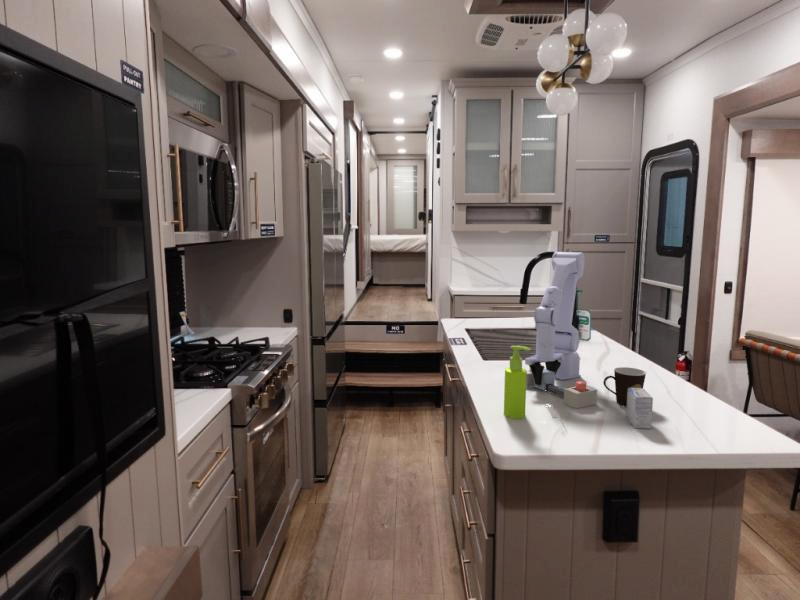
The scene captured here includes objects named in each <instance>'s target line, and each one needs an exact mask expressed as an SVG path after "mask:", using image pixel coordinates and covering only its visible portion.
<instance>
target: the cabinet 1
mask: <svg viewBox="0 0 800 600" xmlns="http://www.w3.org/2000/svg"><path fill="white" fill-rule="evenodd" d="M526 371H527V373H526V388H530V387H529V386H531V387H534V386H533V383H534V376H533V373H532V371H531V369H530V368H529V370H526Z"/></svg>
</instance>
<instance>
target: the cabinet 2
mask: <svg viewBox="0 0 800 600" xmlns="http://www.w3.org/2000/svg"><path fill="white" fill-rule="evenodd" d="M575 388H576V386H573V387H567V388H563V389H564V398H563V404H565V405H568V406H569V405H570V406H569V407H572V408H573V409H574V408H575V409H581V408H585V406H586V407H590V405H591V406H594V405H595V406H596V405H597V403H598V402H597V399H598V389H596V388H593V387H590V386H587V385H586V391H585V392H579V391H576V390H575Z"/></svg>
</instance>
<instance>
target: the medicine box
mask: <svg viewBox="0 0 800 600" xmlns="http://www.w3.org/2000/svg"><path fill="white" fill-rule="evenodd" d="M653 399H654V398H653V396H651V395H650V393H648V391H647V390H646V389H645V388H643V389H642V388H628V392H627V407H626V413H625V415H626V418H627V420H628V421H629V423H630V424H631V425H632V427H633V428H634V429H645V430H646V429H649V430H650V429H652V425H653V424H652V423H653V421H652V420H653V403H654V400H653Z"/></svg>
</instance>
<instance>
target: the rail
mask: <svg viewBox="0 0 800 600" xmlns="http://www.w3.org/2000/svg"><path fill="white" fill-rule="evenodd" d="M564 389H565V388H562V387H560V386H557V385H555V384H554V385H552V384H546V391H545V392H548V393H550V392H551V393H550V394H552V393H553V395H554V396H557V395H558V396H557V397H559V396H560V398H561V399H564Z"/></svg>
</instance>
